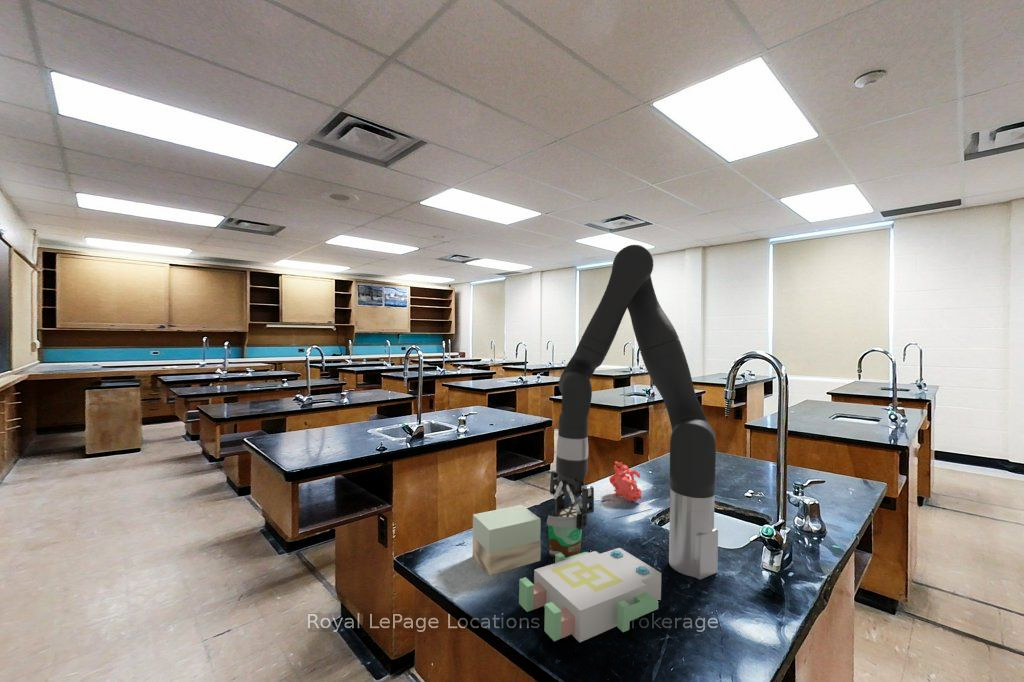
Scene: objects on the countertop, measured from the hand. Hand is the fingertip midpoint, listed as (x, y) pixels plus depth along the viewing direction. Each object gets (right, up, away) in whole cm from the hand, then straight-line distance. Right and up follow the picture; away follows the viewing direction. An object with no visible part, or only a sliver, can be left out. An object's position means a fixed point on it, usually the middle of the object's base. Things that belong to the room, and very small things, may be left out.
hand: (569, 521), depth 102 cm
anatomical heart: (+23, -8, +34) cm, 42 cm away
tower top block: (-15, -2, -4) cm, 16 cm away
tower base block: (-15, -7, -4) cm, 17 cm away
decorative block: (+1, -8, -20) cm, 21 cm away
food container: (0, -7, -1) cm, 7 cm away
